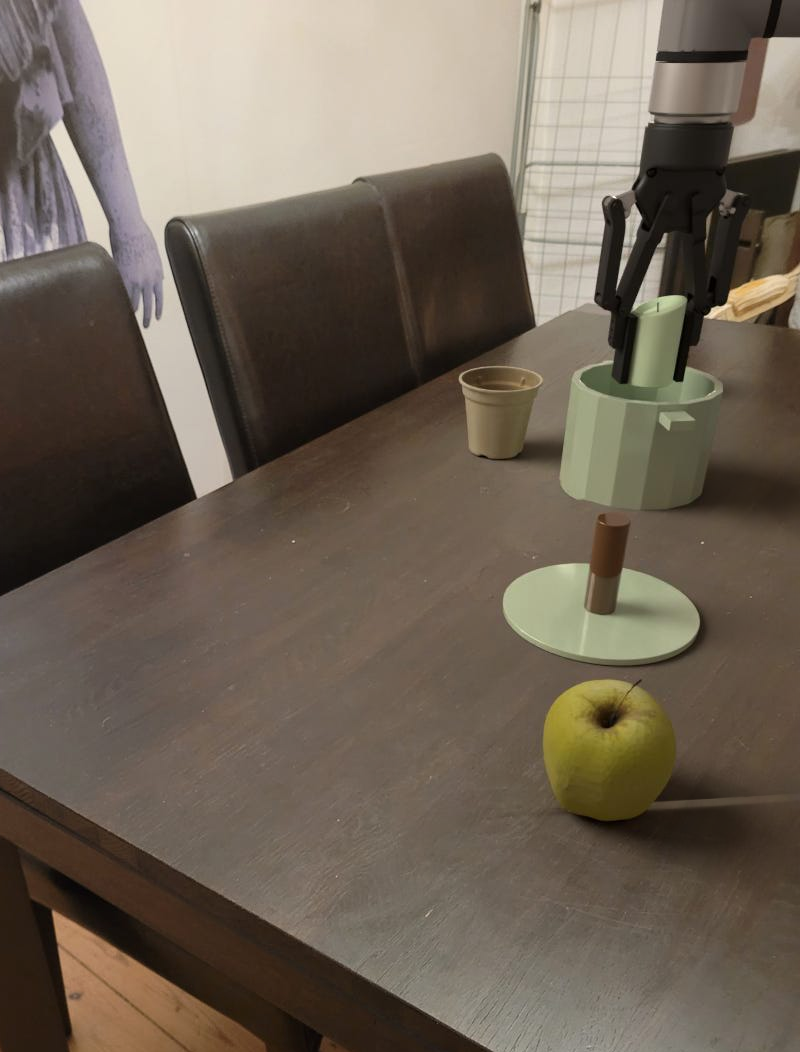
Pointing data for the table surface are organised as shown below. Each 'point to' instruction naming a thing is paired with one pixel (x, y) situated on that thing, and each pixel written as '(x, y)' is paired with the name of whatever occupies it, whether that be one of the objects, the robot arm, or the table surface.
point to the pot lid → (602, 606)
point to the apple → (608, 749)
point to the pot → (638, 439)
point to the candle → (656, 341)
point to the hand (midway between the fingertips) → (646, 378)
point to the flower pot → (498, 408)
